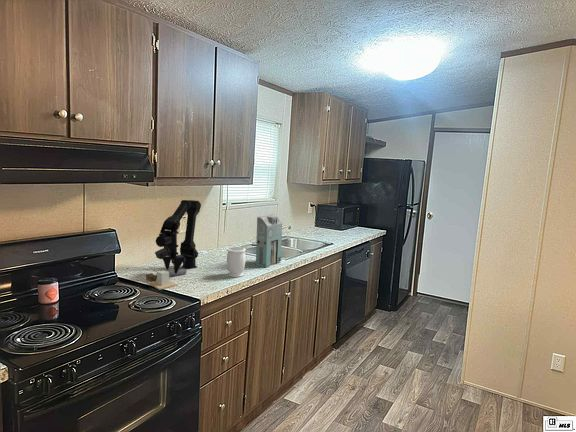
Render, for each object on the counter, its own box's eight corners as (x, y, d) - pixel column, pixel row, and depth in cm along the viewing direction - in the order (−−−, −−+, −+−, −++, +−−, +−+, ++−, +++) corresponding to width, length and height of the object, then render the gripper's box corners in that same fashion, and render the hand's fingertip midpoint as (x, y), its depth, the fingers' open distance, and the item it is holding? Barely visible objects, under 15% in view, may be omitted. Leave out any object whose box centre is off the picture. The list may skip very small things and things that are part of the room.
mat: (166, 279, 210) (166, 278, 210) (177, 285, 201) (177, 284, 201) (148, 283, 203) (148, 282, 203) (159, 289, 194) (159, 288, 194)
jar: (239, 279, 216) (240, 251, 214) (222, 276, 220) (223, 249, 218) (248, 274, 226) (249, 248, 224) (232, 271, 230) (232, 245, 227)
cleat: (151, 278, 211) (151, 273, 210) (156, 281, 207) (156, 275, 207) (146, 279, 209) (146, 274, 208) (150, 282, 205) (150, 276, 205)
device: (266, 267, 240) (267, 218, 235) (255, 265, 244) (256, 217, 239) (280, 262, 253) (282, 215, 249) (270, 260, 257) (272, 214, 253)
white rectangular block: (164, 281, 205) (164, 270, 204) (169, 284, 202) (169, 272, 201) (157, 283, 202) (157, 271, 202) (161, 285, 199) (161, 273, 198)
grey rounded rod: (184, 273, 223) (184, 268, 223) (187, 274, 221) (187, 269, 221) (154, 279, 211) (154, 273, 210) (156, 280, 209) (156, 275, 208)
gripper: (148, 241, 214) (149, 270, 217) (165, 248, 201) (165, 278, 204) (168, 239, 222) (168, 266, 225) (185, 245, 209) (185, 274, 211)
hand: (171, 271), depth 216 cm, fingers open, 9 cm apart
